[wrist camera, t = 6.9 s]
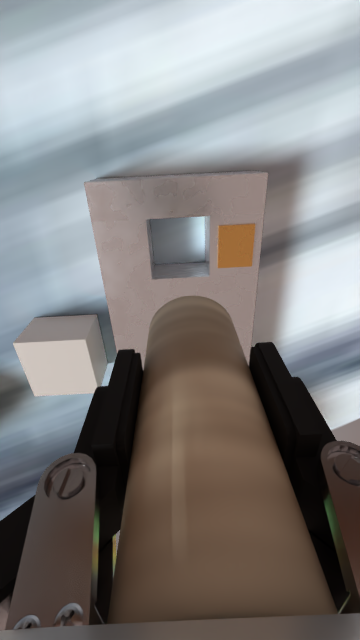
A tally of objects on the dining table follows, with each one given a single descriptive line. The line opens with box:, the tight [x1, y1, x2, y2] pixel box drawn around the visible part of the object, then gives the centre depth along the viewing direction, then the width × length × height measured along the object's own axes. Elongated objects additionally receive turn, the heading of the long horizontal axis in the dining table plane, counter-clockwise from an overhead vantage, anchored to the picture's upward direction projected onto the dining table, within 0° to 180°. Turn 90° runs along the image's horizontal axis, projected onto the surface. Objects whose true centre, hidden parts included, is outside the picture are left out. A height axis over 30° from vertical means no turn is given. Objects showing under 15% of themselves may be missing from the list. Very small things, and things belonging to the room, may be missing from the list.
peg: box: [107, 296, 338, 624], centre depth 9 cm, size 4×4×10 cm
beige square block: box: [13, 314, 108, 396], centre depth 31 cm, size 7×7×5 cm
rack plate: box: [84, 170, 268, 369], centre depth 29 cm, size 22×14×4 cm, turn 3°
